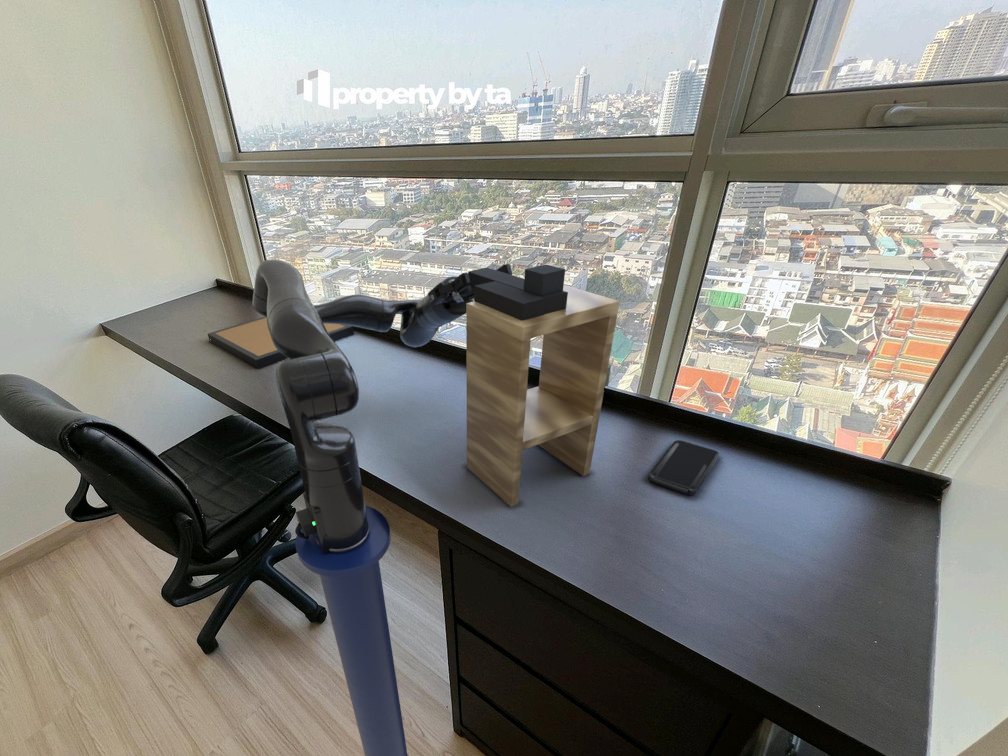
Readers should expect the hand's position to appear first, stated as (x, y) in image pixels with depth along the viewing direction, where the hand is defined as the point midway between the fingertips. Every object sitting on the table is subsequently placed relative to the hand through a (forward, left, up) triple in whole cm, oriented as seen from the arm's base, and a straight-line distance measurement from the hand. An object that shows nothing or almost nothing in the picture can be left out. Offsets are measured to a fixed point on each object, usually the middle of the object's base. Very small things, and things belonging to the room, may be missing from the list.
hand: (488, 273), depth 81 cm
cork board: (-20, +91, -34) cm, 99 cm away
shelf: (+1, -12, -34) cm, 36 cm away
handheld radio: (+25, +3, -34) cm, 43 cm away
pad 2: (-4, -11, -2) cm, 12 cm away
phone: (+25, -27, -34) cm, 50 cm away
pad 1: (0, -7, -2) cm, 7 cm away
